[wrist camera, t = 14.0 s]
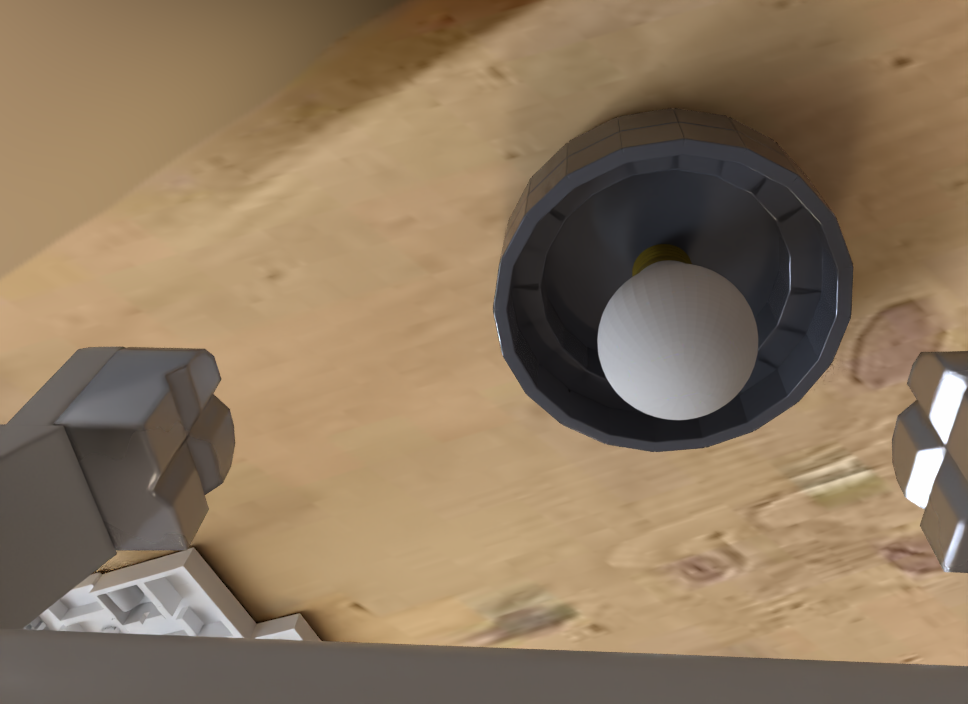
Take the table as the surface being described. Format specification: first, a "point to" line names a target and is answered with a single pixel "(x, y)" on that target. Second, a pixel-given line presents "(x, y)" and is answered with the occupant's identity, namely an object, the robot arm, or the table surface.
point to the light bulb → (676, 337)
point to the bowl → (700, 234)
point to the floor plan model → (163, 604)
